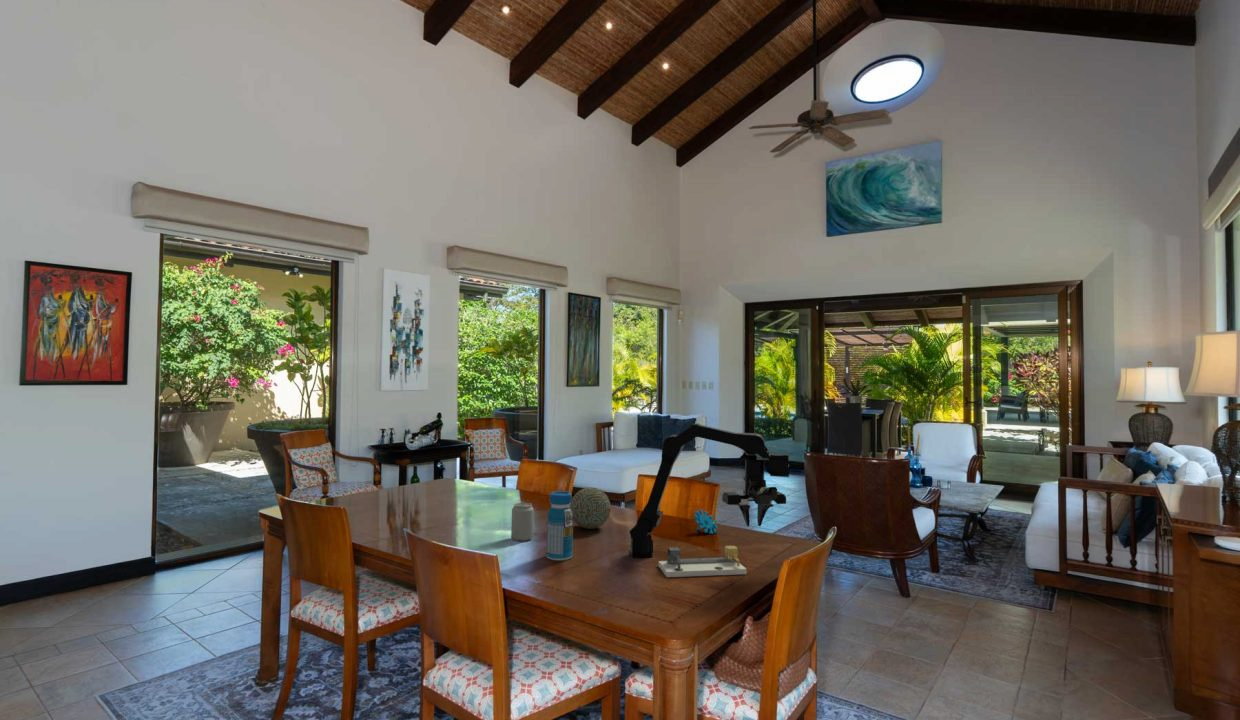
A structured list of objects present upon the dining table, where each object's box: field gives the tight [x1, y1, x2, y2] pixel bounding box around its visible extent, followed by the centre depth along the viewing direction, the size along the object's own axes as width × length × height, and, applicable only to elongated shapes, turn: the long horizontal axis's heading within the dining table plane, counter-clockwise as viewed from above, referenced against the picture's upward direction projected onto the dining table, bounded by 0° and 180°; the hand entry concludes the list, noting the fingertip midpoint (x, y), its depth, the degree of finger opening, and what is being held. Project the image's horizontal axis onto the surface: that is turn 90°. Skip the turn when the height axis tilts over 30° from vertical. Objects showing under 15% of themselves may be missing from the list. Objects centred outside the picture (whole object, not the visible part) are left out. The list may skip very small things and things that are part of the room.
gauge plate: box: [658, 560, 747, 578], centre depth 189 cm, size 24×10×2 cm, turn 100°
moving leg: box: [724, 545, 741, 566], centre depth 190 cm, size 3×8×4 cm, turn 10°
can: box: [510, 502, 535, 542], centre depth 218 cm, size 8×8×12 cm
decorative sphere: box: [569, 486, 611, 530], centre depth 234 cm, size 15×15×15 cm
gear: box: [693, 509, 718, 535], centre depth 234 cm, size 11×6×10 cm
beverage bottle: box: [545, 490, 575, 562], centre depth 198 cm, size 8×8×20 cm
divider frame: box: [666, 546, 739, 568], centre depth 189 cm, size 22×8×4 cm, turn 100°
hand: (753, 526), depth 194 cm, fingers open, 3 cm apart
